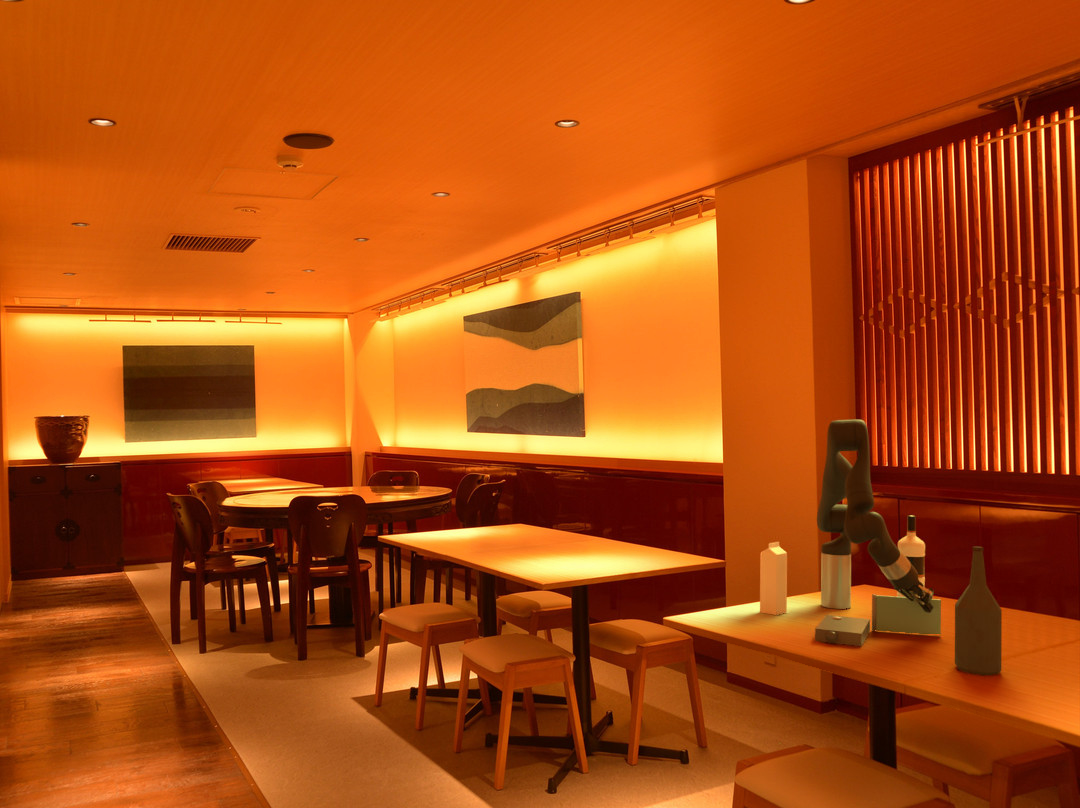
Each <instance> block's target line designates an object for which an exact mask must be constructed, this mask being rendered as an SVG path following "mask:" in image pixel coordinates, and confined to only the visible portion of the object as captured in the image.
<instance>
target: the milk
mask: <svg viewBox="0 0 1080 808" xmlns="http://www.w3.org/2000/svg"><path fill="white" fill-rule="evenodd" d="M759 563H760V565H759V568H760V569H759V571H760V573H759V574H760V575H759V576H760V577H759V578H760V580H759V613H761V614H762V613H763V614H766V615H767V614H768V615H772V614H773V615H772V616H779V614H780V615H783V613H784V614H786V612H787V608H788V607H787V606H788V600H787V599H788V598H787V597H788V552H787V551H785V550H784V549H783V548H781V546H780V541H774V542H769V543H768V547H767V548H765V549H764V550H763V551H761V552H760V561H759Z"/></svg>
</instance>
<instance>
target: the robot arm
mask: <svg viewBox="0 0 1080 808" xmlns="http://www.w3.org/2000/svg"><path fill="white" fill-rule="evenodd" d="M868 431H869V430H868V426H867V424H866V422H865V421H864V420H863V419H836V420H831V422H830V423H829V425H828V427H827V432H826V433H827V435H826V455H825V456H826V457H825V463H824V464H825V465H824V470H823V475H822V485H821V495H820V500H819V504H818V508H817V512H816V513H817V514H816V523H817V524H816V525H817V527H818V529H819V530H820V531H821V532H824V533H835V534H836V533H838V534H840V535H839V536H838V537H837V538H835V539H833V540H831V541H828V542H824V543H822V544H821V547H820V548H821V552H820V553H821V554H820V556H821V560H820V561H821V564H820V566H821V570H820V571H821V575H820V577H821V578H820V579H821V580H820V583H821V584H820V586H821V587H820V606H822V607H823V608H828V609H838V610H844V609H845V610H846V608H847V609H850V608H851V606H852V605H851V604H852V602H851V601H852V599H851V598H852V588H851V587H852V544H855V545H859V544H862V543H866V542H869V541H870V542H869V543H868V545H867V552H868V554H869V556H870V557H871V559H872V560H873V561H874V562H875V563H876V565H877V566H878V567H879V569H880V571H881V573H883V574H884V576H885V577H886V579H887V580H888V582H890V584H891V585H892V586H893V590H895V591H898V592H899V593H901V594H902V595H904V596H905V597H906V598H908V599H909V600H911V601H913V600H914V601H915V602H916V603H917V604H919V605H920V606H921V607H922V608H923V610H924V611H925V612H928V613H931V611H932V610H933V608H934V607H933V606H932V604H931V603H930V601H931V599H933V598H934V597H933V596H934V591H935V590H934V589H933V588H932V587H930V588H926V587H925V584H924V585H923V584H922V583H921V582H920V581H919V580H918V572H917V571H916V569H915V568H914V567H913V566H912V564H911V563H910V562H909V560H908V559H907V558H906V557H905V555H904V554H903V553H902V552H901V551H900V550H899V549H898V546H897V545H896V544H895V543H894V541H893V540H892V538H891V535H890V534H889V531H888V529H887V525H886V523H885V520H884V518H883V515H881V514H880V513H878V512H876V511H872V509H873V508H875V507H874V506H875V498H874V493H873V488H872V483H871V480H872V479H871V462H870V461H871V458H870V457H871V456H870V441H869V440H870V439H869V432H868ZM841 452H857V458H856V460H855V462H854V465H852V464H851V463H850V462H849V460H847V458H846V457H844V456H843V455H842V454H841ZM845 499H846V502H847V503H846V504H841V503H840V502H842V501H843V500H845ZM839 503H840V504H839Z"/></svg>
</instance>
